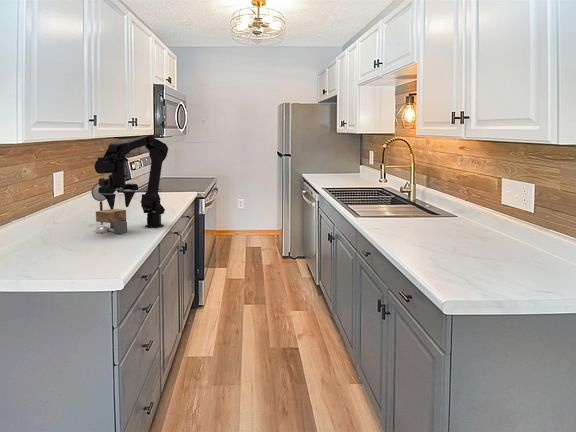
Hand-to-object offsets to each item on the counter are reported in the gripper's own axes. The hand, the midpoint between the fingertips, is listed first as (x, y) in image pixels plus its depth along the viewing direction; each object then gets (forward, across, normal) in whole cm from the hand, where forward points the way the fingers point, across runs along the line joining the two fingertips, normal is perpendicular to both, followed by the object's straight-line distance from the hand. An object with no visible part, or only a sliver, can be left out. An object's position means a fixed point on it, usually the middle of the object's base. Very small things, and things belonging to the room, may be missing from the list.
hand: (119, 208), depth 236 cm
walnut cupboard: (+11, -6, -10) cm, 16 cm away
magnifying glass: (+11, -13, -24) cm, 29 cm away
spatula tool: (+11, -1, -5) cm, 12 cm away
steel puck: (+11, +2, -9) cm, 14 cm away
